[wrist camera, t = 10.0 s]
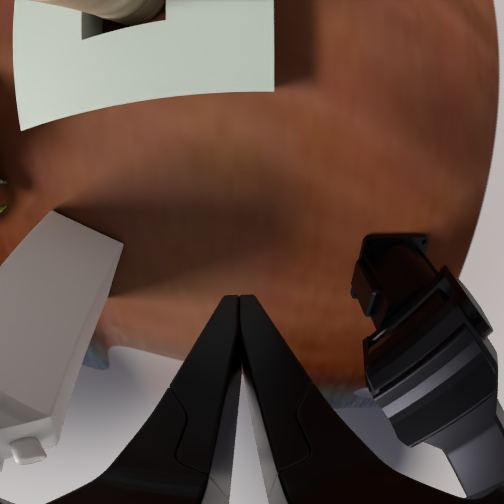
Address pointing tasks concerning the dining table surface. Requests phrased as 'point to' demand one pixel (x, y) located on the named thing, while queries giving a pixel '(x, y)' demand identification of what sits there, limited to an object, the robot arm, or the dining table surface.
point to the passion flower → (1, 208)
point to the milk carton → (48, 328)
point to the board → (137, 56)
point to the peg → (114, 9)
